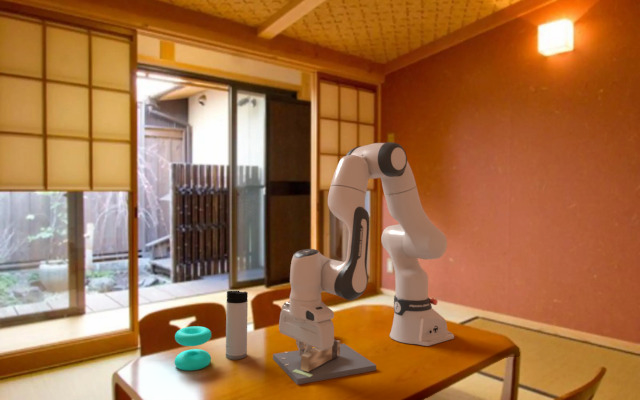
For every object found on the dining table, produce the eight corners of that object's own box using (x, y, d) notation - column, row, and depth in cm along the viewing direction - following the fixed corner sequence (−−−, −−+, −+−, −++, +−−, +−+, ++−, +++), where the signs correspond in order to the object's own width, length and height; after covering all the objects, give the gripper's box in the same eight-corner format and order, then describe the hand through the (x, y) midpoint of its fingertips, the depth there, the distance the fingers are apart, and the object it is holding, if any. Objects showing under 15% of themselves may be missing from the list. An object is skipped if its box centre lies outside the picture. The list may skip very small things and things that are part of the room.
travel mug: (221, 358, 132) (222, 291, 131) (232, 350, 138) (233, 286, 138) (239, 361, 130) (240, 293, 129) (250, 353, 136) (251, 288, 135)
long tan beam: (331, 352, 133) (331, 337, 133) (341, 354, 131) (341, 339, 131) (299, 369, 120) (299, 352, 120) (309, 372, 118) (310, 355, 118)
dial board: (344, 348, 142) (344, 343, 142) (376, 370, 125) (376, 364, 125) (273, 359, 132) (273, 353, 132) (297, 385, 115) (297, 378, 114)
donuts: (194, 338, 119) (167, 332, 124) (193, 375, 120) (166, 367, 124) (218, 328, 128) (192, 323, 133) (218, 362, 129) (192, 356, 133)
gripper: (274, 302, 130) (273, 348, 130) (320, 317, 115) (319, 370, 115) (291, 298, 134) (290, 344, 134) (338, 313, 119) (337, 364, 119)
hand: (304, 356), depth 125 cm, fingers closed
